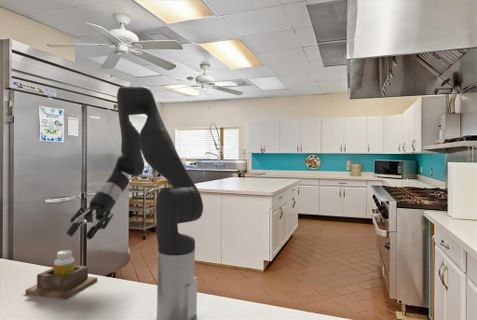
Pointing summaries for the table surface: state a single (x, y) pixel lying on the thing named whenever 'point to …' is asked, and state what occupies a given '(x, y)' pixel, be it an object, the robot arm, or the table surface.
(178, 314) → the robot arm
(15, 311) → the table surface
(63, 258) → the supplement bottle
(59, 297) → the box
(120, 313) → the table surface
